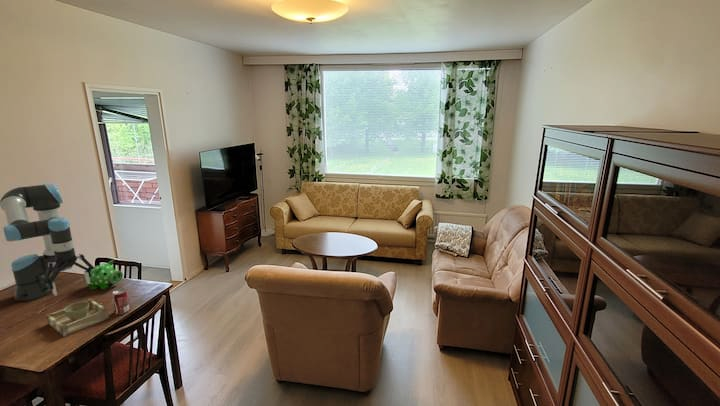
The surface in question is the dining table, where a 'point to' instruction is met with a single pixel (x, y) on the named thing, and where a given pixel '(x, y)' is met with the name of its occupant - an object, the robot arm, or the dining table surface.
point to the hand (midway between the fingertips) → (72, 288)
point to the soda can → (120, 301)
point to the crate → (68, 326)
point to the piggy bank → (104, 276)
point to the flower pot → (77, 310)
